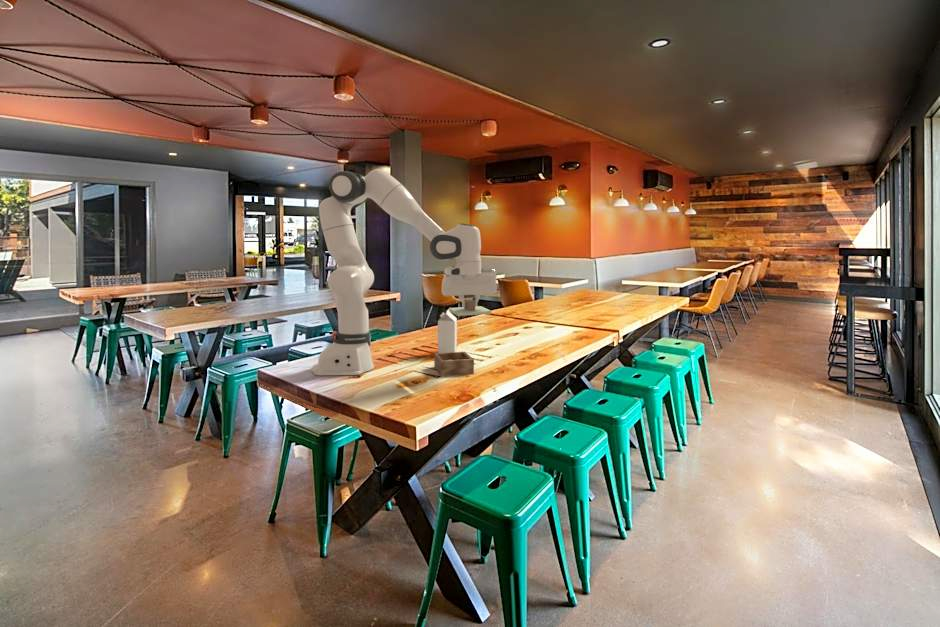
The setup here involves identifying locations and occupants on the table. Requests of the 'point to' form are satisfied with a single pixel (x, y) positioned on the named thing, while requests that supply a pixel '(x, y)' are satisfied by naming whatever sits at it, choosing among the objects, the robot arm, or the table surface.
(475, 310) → the lid
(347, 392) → the table surface
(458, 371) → the walnut box
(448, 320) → the milk carton
